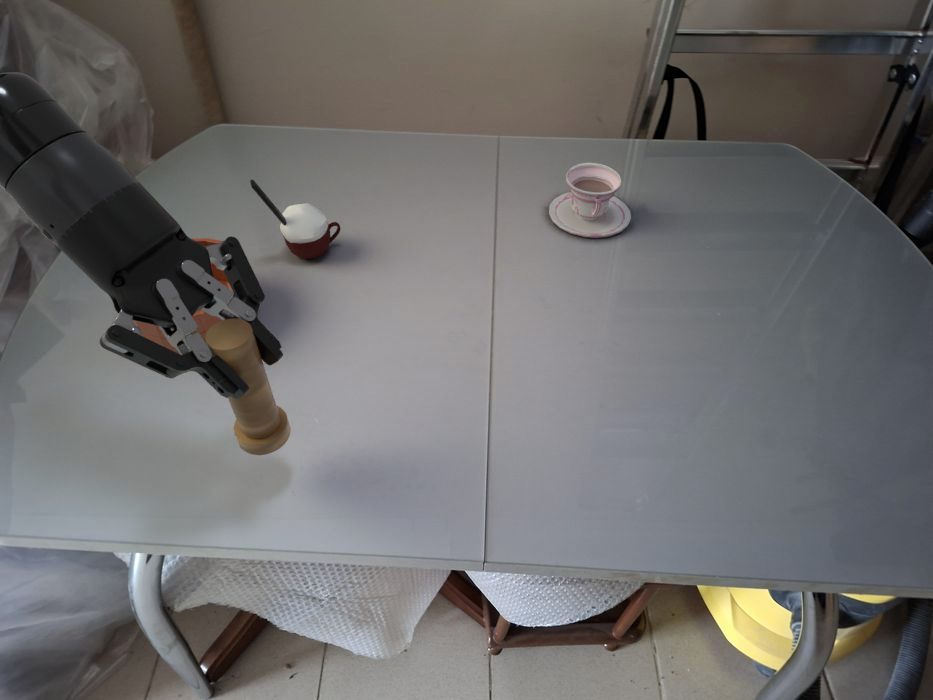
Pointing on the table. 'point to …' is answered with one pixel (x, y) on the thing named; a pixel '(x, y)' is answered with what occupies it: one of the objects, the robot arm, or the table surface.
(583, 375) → the table surface
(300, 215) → the cocoa
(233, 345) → the wooden flanged peg
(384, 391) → the table surface
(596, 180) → the teacup
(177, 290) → the robot arm
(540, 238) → the table surface
